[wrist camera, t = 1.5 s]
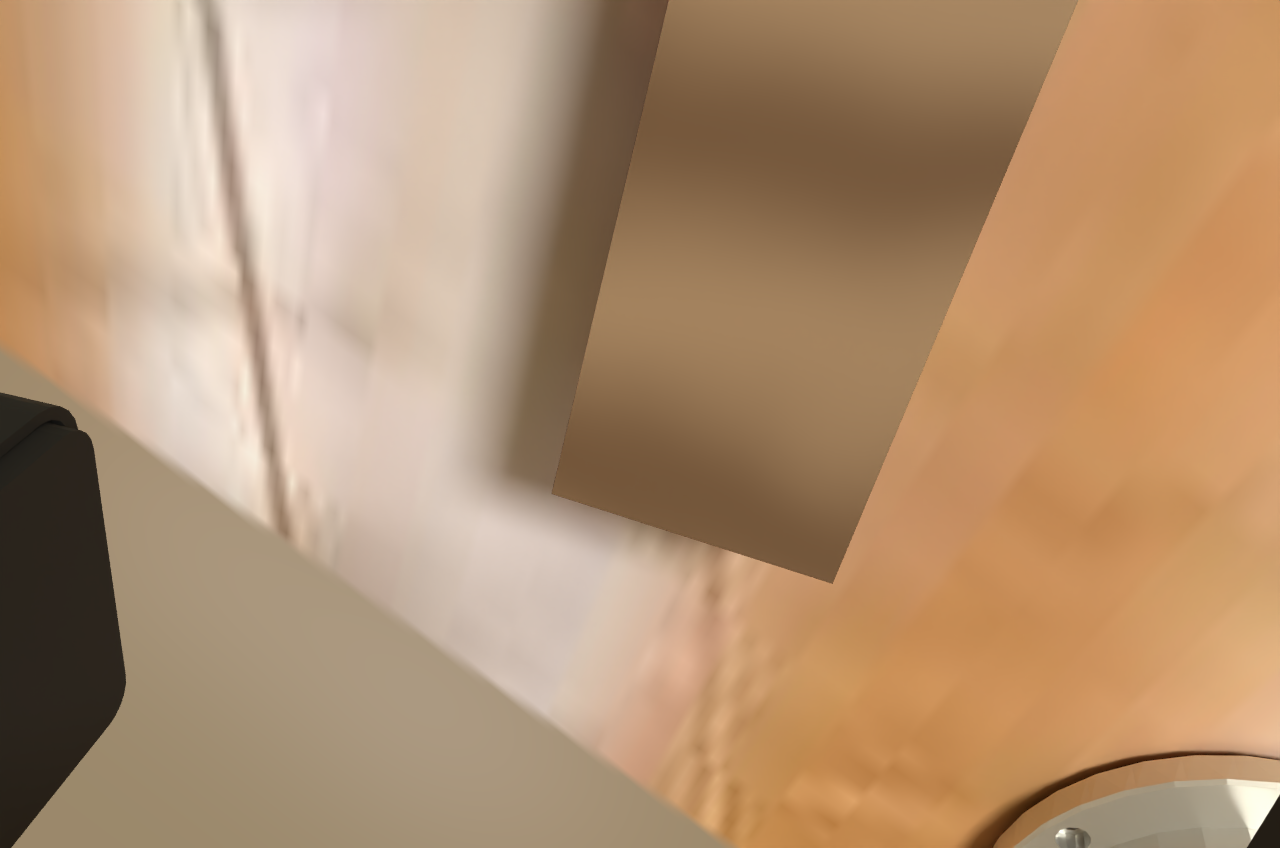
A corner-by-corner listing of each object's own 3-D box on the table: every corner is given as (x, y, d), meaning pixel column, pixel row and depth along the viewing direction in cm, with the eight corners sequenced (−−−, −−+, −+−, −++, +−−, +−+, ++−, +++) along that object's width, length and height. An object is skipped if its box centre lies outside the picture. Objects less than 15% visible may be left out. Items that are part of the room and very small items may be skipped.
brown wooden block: (847, 454, 28) (832, 583, 24) (607, 379, 29) (551, 493, 25) (1155, -317, 20) (1215, -325, 16) (807, -412, 20) (774, -444, 16)
